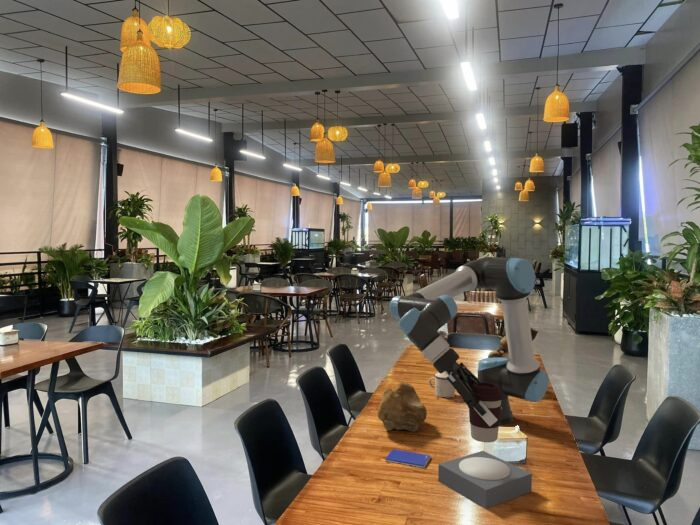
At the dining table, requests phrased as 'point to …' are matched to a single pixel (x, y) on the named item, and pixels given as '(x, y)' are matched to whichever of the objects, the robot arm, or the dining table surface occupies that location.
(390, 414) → the rough brown rock
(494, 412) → the coffee cup
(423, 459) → the hard drive
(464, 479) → the slate stand
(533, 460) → the dining table surface
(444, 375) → the teacup with lid
